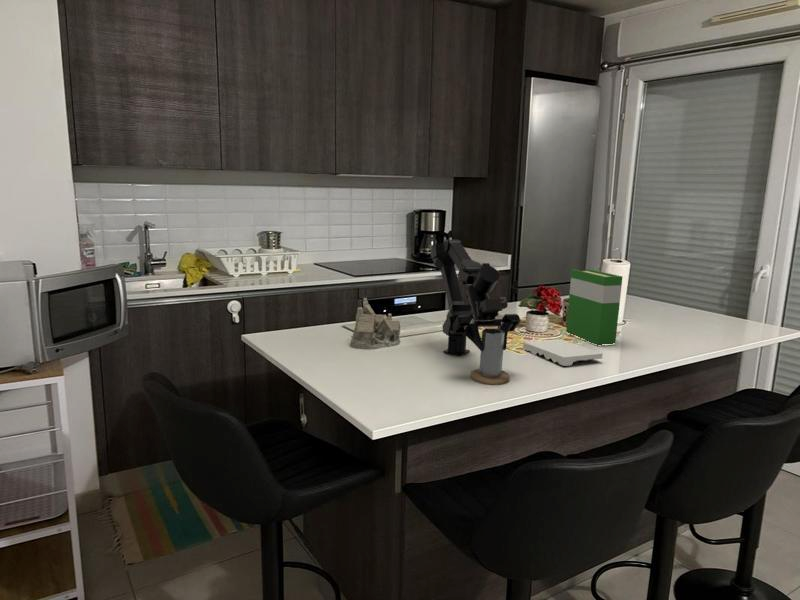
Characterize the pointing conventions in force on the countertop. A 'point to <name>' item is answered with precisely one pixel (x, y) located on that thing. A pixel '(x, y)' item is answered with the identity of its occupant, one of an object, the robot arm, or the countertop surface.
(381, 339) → the ceramic cottage
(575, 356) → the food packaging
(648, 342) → the countertop surface
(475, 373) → the post stand
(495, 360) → the steel sleeve
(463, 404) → the countertop surface
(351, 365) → the countertop surface
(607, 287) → the hardback book
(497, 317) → the architectural model
